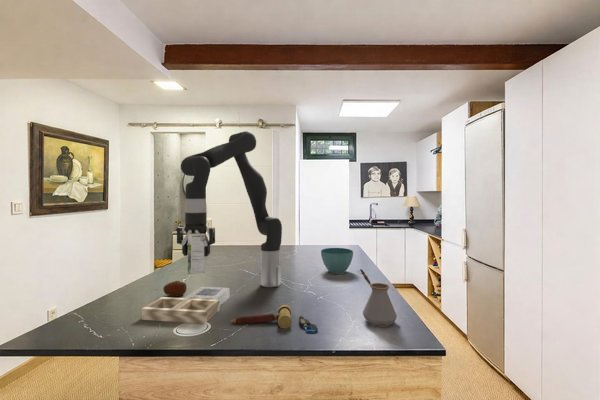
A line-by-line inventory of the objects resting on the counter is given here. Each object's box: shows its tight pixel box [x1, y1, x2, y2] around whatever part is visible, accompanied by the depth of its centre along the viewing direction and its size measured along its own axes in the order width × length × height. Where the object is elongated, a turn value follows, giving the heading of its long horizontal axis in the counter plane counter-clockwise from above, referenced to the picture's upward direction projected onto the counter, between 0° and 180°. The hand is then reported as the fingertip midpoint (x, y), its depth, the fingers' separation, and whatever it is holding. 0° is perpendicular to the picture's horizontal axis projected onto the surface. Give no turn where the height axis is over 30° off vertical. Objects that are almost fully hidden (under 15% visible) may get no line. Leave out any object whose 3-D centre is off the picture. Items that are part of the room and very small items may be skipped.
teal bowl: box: [320, 247, 354, 275], centre depth 171 cm, size 18×18×12 cm
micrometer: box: [298, 315, 319, 334], centre depth 102 cm, size 12×2×5 cm
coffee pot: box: [357, 268, 398, 328], centre depth 109 cm, size 21×12×15 cm, turn 14°
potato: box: [163, 280, 188, 297], centre depth 132 cm, size 7×9×6 cm
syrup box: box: [187, 233, 206, 275], centre depth 110 cm, size 6×6×14 cm
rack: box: [140, 296, 220, 325], centre depth 111 cm, size 24×12×4 cm, turn 82°
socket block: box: [185, 286, 231, 307], centre depth 125 cm, size 13×13×4 cm
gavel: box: [230, 304, 293, 329], centre depth 105 cm, size 21×5×10 cm
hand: (196, 255), depth 110 cm, fingers closed on syrup box, 7 cm apart
